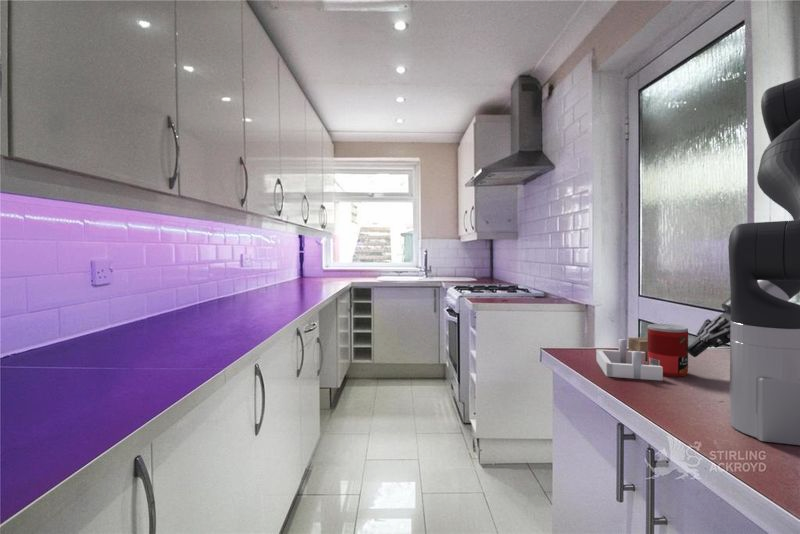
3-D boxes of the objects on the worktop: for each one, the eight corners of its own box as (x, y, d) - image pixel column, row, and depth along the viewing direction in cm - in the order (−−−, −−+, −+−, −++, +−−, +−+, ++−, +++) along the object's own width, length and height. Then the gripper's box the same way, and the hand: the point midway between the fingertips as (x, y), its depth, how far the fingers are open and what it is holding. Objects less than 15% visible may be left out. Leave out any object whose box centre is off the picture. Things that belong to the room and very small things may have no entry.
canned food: (688, 379, 87) (688, 330, 86) (646, 373, 92) (646, 327, 91) (688, 370, 93) (688, 325, 93) (648, 365, 98) (648, 322, 97)
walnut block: (658, 359, 103) (658, 341, 103) (640, 360, 103) (640, 341, 103) (645, 354, 108) (645, 337, 108) (628, 355, 108) (628, 337, 108)
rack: (663, 381, 86) (663, 354, 86) (606, 376, 89) (606, 351, 89) (643, 362, 100) (643, 340, 100) (595, 359, 104) (595, 337, 103)
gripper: (725, 288, 93) (666, 336, 98) (756, 293, 81) (687, 348, 85) (752, 310, 92) (691, 358, 96) (788, 319, 79) (716, 374, 84)
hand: (689, 353), depth 91 cm, fingers closed
